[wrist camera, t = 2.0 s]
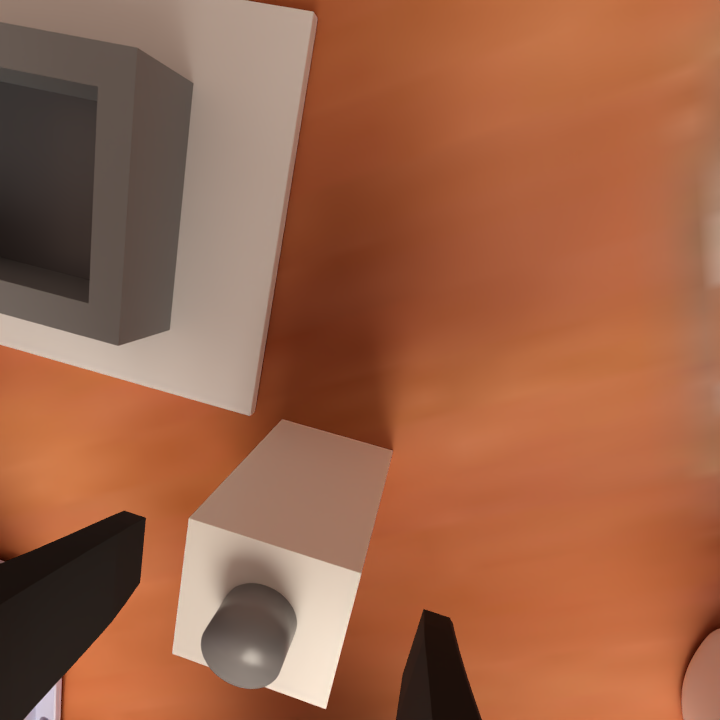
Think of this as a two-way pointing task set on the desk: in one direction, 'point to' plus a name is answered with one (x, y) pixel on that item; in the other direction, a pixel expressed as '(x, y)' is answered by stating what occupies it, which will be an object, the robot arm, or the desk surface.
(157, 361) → the socket dock
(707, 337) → the desk surface
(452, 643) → the robot arm
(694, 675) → the eye dropper bottle
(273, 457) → the block
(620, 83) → the desk surface
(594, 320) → the desk surface
